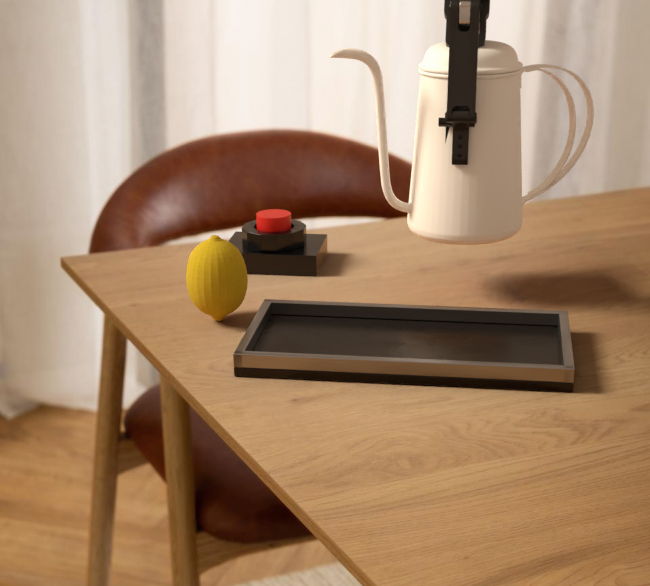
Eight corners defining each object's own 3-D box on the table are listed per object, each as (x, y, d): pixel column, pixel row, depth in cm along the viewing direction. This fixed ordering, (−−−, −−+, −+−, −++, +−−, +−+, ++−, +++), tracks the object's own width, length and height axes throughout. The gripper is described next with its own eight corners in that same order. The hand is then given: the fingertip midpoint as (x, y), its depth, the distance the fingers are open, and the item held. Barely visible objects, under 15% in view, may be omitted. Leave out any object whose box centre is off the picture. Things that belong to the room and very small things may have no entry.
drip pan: (566, 331, 106) (567, 310, 105) (572, 392, 93) (574, 369, 92) (265, 319, 109) (264, 298, 108) (234, 376, 97) (232, 353, 96)
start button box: (327, 254, 127) (327, 217, 125) (316, 277, 120) (316, 238, 118) (236, 251, 128) (234, 214, 127) (220, 273, 121) (218, 235, 120)
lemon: (244, 308, 112) (240, 225, 108) (253, 328, 107) (250, 241, 103) (185, 313, 111) (180, 229, 107) (192, 333, 106) (186, 246, 102)
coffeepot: (319, 228, 115) (315, 22, 107) (560, 211, 120) (575, 12, 111) (343, 257, 106) (341, 34, 97) (605, 238, 110) (624, 23, 102)
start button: (294, 226, 124) (293, 209, 123) (288, 235, 121) (287, 218, 120) (260, 224, 124) (259, 208, 124) (253, 234, 121) (253, 217, 120)
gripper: (433, -81, 111) (428, 162, 122) (417, -73, 92) (412, 215, 103) (514, -83, 110) (501, 163, 121) (514, -74, 91) (499, 216, 102)
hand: (460, 187), depth 112 cm, fingers closed on coffeepot, 9 cm apart
